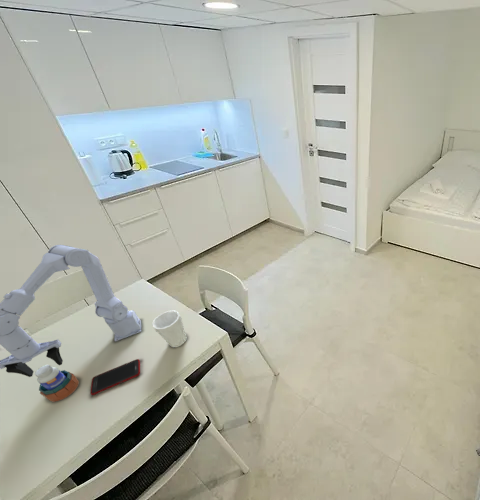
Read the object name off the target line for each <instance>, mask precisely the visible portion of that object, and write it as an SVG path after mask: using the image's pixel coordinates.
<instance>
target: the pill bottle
mask: <svg viewBox="0 0 480 500" xmlns="http://www.w3.org/2000/svg"><path fill="white" fill-rule="evenodd" d="M61 371H62V370H60V369H59V368H58V367H53V366H51V365H50V364H45V365H42V366H40V367H38V369H36V371H34V375H35V376H36V380H37V382H38V383H39V385H40V384H41V385H42V386H44V387H45V388H46V389H47V390H48V391H49V390H53V389H54V388H56V387H58V386H59V385H61V384H62V383H63V382H64V381H65V380H66V379H67V377H66V376H65V375H64V374H63V373H62V372H61Z"/></svg>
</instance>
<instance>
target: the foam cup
mask: <svg viewBox="0 0 480 500" xmlns="http://www.w3.org/2000/svg"><path fill="white" fill-rule="evenodd" d="M151 325H152V328H153V329H154V331H155V332H156V333H158V334H159V336H160V337H161V338H162V339H163V340H164V342H166V343H167V344H168V345H169V346H170V347H171V348H178V347H180V346H183V345H184V344H185V342H187V332H186V329H185V326H184V324H183V318H182V316H181V314H180V312H179V311H177V310H175V309H174V310H171V309H170V310H165V311H164V312H161V313H160V314H158V315H157V316H156V317H155V318H154V319H153V321H152V323H151Z"/></svg>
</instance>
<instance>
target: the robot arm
mask: <svg viewBox="0 0 480 500" xmlns="http://www.w3.org/2000/svg"><path fill="white" fill-rule="evenodd" d="M69 266H70V267H74V268H75V267H77V268H78V267H80V268H81V269H82V271H83V273H84V275H85V277H86V280H87V282H88V284H89V286H90V289H91V291H92V293H93V296H94V298H95V300H96V301H95V302H94V307H95V310H94V312H95V313H94V314H95V315H96V316H97V317H100V318H103V320H104V322H105V323H106V325H107V326H108V327H109V329H110V330H111V331H112V333H113V334H114V340H113V341H114V342H119V341H121V340H123V339H126V338H129V337H131V336H133V335H136V334H139V333H141V332H142V321H141V319H140V318H139V316H138V315H137V313H136V311H135V310H134V309H133V310H129V309H128V307H127V306H126V305H125V304H124V303H123V301H122V300H120V299H119V298H117V296H116V295H115V294H114V292H113V288H112V286H111V284H110V282H109V280H108V277H107V275H106V273H105V270H104V267H103V266H102V263H101V260H100V258H99V257H98V256H97V255H95V254H93V253H92V252H90V251H89V250H88V249H84V248H79V247H74V246H70V245H64V244H55V245H53V246H52V247H50V248H49V249H48V250H47V252H46V253H44V254H43V255H42V259H41V261H40V263H39V264H38V265H37V266H36V267H35V269H33V270H34V271H33V272H32V273H31V274H30V275H29V276H28V278H27V279H26V280H25V282H24V283H23V284H22V285H21V287H20V288H17V289H13V290H11V291H9V293H6V294H4V295H3V300H2V301H1V302H0V346H1V347H2V348H4V349H5V350H6V351H7V352H8V353H9V354H10V355H8V356H7V357H5V358H2V359H0V370H3V369H5V372H6V373H8V374H19V375H23V376H26V377H28V378H31V377H33V375H34V373H35V371H34V370H33V369H32V368H31V367H30V366H29V365H28V364H27V363H30V362H31V361H32V360H33V359H34V358H35V357H37V356H39V355H41V354H43V353H45V352H46V355H45V358H48V359H50V360H52V361H54V362H55V364H57V366H62V365H63V362H64V360H63V358H62V356H61V352H60V348H61V347H62V341H60V339H59V338H57V339H54V340H51V341H44V342H39V343H38V342H37V341H36V340H35V339H34V337H32V336H31V335H30V334H28V332H27V331H26V330H25V329H24V328H22V326H19V324H20V321H19V320H20V319H21V316H22V315H23V314H24V312H25V311H27V309H28V308H29V307H30V306H31V304H32V303H33V302H34V301H35V300H36V296H35V293H36V292H37V291H38V290H39V289H40V288H41V287H42V286H43V285H44V284H45V283H46V282H47V281H48V280H49V279H50V278H51V277H52V276H53V275H54V274H55V273H57V272H63V271H67V270H70V267H69Z"/></svg>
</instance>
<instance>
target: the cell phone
mask: <svg viewBox="0 0 480 500" xmlns="http://www.w3.org/2000/svg"><path fill="white" fill-rule="evenodd" d="M140 374H141V360H140V359H139V358H136V359H134V360H132V361H129V362H127V363H124V364H121V365H119V366H117V367H114V368H112V369H109V370H107V371H105V372H102V373H99V374H97V375H95V376H93V377H92V379H91V384H90V385H91V386H90V395H91V396H95V395H97V394H99V393H101V392H104V391H106V390H109V389H111V388H113V387H115V386H118V385H120V384H122V383H123V384H124V383H125V382H128V381H129V380H132V379H134V378H136V377H138V376H140Z"/></svg>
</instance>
